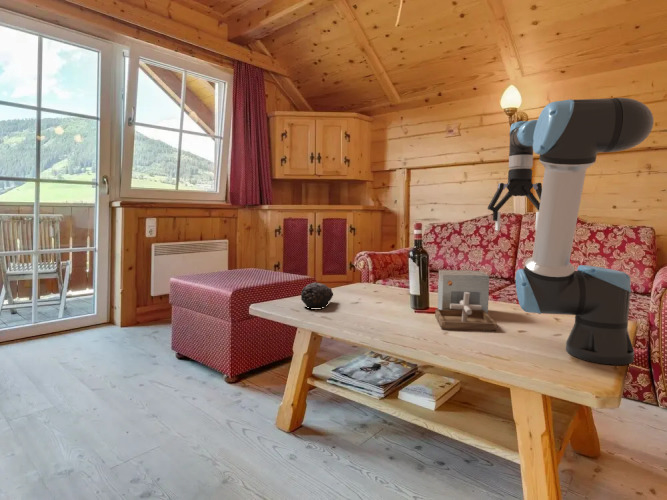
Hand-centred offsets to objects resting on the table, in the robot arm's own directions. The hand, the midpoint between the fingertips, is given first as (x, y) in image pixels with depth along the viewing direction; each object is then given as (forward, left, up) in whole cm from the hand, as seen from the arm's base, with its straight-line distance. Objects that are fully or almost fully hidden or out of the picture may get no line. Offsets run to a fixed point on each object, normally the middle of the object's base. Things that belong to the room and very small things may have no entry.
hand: (517, 230), depth 143 cm
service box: (+6, +17, -31) cm, 36 cm away
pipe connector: (-10, +19, -30) cm, 37 cm away
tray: (-10, +19, -31) cm, 38 cm away
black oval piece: (+10, +72, -31) cm, 79 cm away
